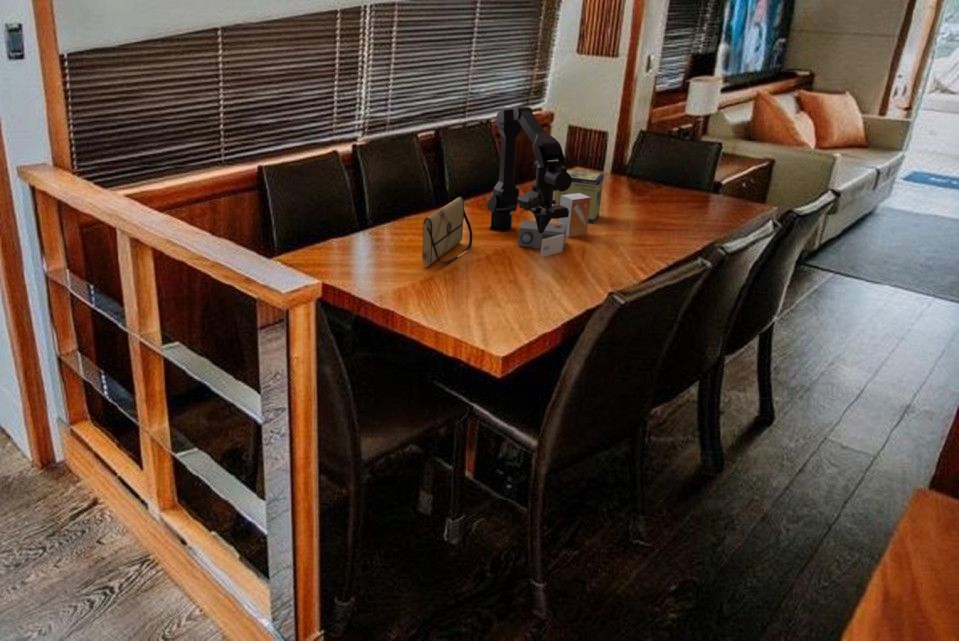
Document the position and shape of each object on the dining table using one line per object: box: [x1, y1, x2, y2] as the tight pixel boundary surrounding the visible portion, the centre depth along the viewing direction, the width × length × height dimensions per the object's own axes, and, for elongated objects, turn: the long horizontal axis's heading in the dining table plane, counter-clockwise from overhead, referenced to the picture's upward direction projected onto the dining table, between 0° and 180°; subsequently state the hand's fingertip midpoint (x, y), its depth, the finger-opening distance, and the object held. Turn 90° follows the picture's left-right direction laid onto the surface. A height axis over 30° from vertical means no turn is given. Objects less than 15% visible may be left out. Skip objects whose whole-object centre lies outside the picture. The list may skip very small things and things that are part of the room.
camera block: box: [517, 219, 567, 249], centre depth 252 cm, size 14×10×7 cm
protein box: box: [552, 169, 605, 224], centre depth 282 cm, size 10×16×16 cm
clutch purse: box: [421, 196, 473, 267], centre depth 237 cm, size 30×7×15 cm, turn 161°
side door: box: [540, 234, 565, 258], centre depth 244 cm, size 10×1×6 cm, turn 132°
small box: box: [557, 193, 591, 238], centre depth 264 cm, size 8×6×13 cm
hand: (540, 232), depth 244 cm, fingers closed
